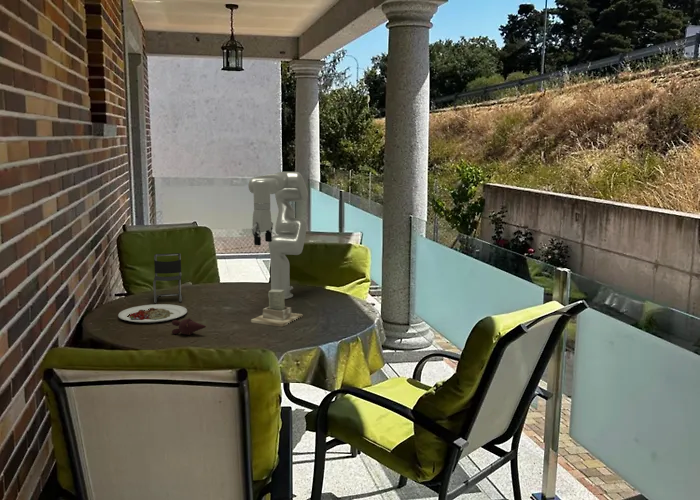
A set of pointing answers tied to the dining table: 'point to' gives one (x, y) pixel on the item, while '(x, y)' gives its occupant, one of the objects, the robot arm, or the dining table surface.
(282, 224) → the robot arm
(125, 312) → the plated food
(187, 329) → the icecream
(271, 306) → the skincare box
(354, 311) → the dining table surface
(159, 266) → the chair
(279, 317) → the socket stand
